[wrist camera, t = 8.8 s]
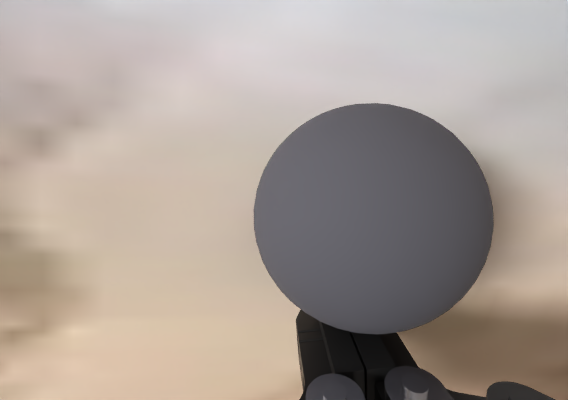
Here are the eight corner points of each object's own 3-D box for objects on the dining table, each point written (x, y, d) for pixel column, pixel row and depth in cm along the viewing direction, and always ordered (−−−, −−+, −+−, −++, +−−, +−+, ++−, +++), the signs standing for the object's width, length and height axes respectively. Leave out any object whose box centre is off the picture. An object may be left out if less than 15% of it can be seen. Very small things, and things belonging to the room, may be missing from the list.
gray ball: (258, 372, 8) (245, 202, 12) (449, 345, 9) (383, 197, 13) (281, 285, 3) (248, 51, 7) (662, 250, 5) (462, 62, 8)
